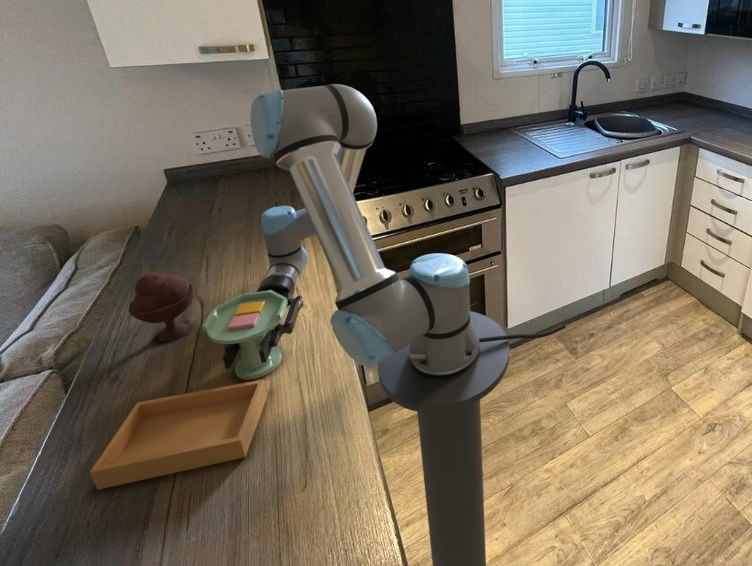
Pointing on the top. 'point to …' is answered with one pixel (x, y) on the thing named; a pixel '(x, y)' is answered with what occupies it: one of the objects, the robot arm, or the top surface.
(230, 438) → the box
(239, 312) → the sachet
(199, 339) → the top surface
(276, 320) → the green pedestal stand
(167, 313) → the ice cream bowl
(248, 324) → the sachet
